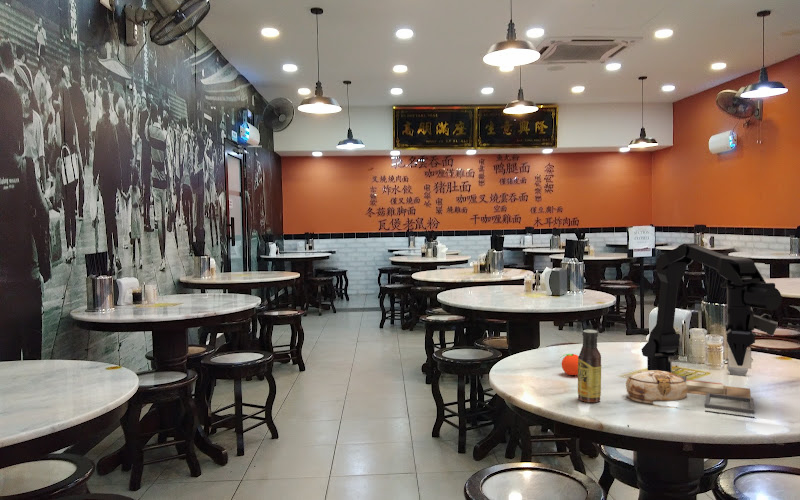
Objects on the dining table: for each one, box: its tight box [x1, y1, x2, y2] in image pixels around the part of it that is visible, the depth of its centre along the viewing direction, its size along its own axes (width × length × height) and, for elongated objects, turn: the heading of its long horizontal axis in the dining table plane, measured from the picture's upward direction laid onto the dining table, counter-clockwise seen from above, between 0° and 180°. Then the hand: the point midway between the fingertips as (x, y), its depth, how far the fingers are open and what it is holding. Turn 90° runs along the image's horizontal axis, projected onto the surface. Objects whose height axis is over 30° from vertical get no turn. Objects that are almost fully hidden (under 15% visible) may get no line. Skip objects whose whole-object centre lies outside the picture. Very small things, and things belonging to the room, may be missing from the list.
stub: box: [728, 346, 752, 370], centre depth 153 cm, size 5×6×5 cm
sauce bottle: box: [577, 329, 602, 404], centre depth 160 cm, size 7×6×20 cm
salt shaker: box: [726, 359, 749, 377], centre depth 181 cm, size 6×6×13 cm
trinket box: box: [625, 370, 688, 404], centre depth 160 cm, size 13×15×8 cm
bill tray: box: [704, 393, 755, 419], centre depth 151 cm, size 11×11×2 cm
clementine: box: [558, 353, 579, 376], centre depth 186 cm, size 8×7×7 cm
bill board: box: [679, 375, 752, 398], centre depth 163 cm, size 18×12×4 cm, turn 60°
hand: (739, 363), depth 153 cm, fingers closed on stub, 6 cm apart
